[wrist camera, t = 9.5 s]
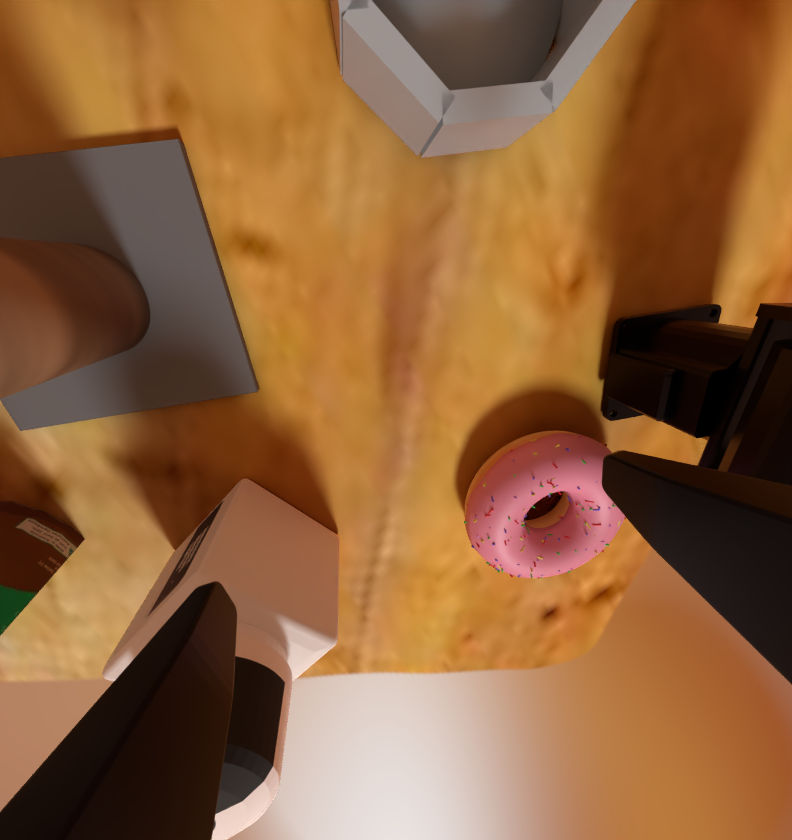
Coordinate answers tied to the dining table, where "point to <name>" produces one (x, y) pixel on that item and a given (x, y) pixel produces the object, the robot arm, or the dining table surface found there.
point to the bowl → (467, 64)
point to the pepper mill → (63, 310)
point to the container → (252, 628)
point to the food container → (29, 555)
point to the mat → (148, 261)
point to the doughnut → (528, 483)
